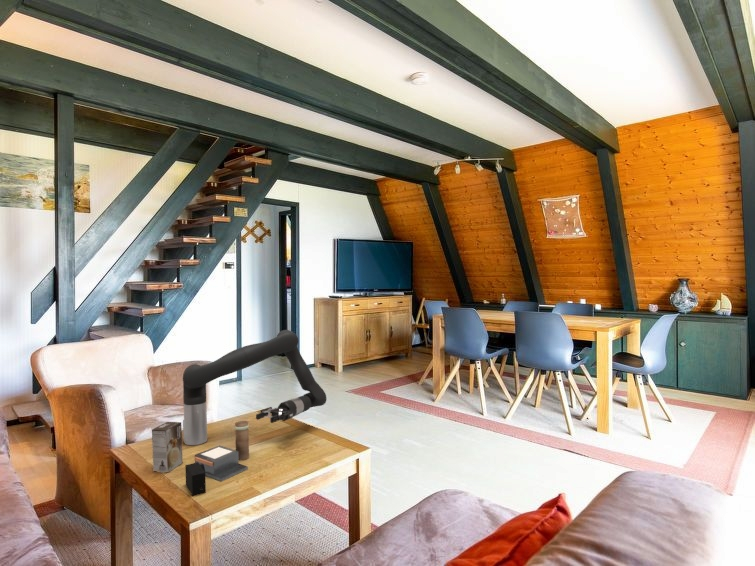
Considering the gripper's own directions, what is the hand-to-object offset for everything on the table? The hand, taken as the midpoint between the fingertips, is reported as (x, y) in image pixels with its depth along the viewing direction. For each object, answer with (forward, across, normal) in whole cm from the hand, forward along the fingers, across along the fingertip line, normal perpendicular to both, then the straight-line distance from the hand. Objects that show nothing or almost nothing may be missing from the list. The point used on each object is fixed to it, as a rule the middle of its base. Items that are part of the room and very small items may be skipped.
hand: (263, 418), depth 194 cm
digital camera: (+37, +7, +12) cm, 40 cm away
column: (+12, 0, +12) cm, 17 cm away
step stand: (+24, 0, +12) cm, 26 cm away
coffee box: (+32, -17, +12) cm, 39 cm away
